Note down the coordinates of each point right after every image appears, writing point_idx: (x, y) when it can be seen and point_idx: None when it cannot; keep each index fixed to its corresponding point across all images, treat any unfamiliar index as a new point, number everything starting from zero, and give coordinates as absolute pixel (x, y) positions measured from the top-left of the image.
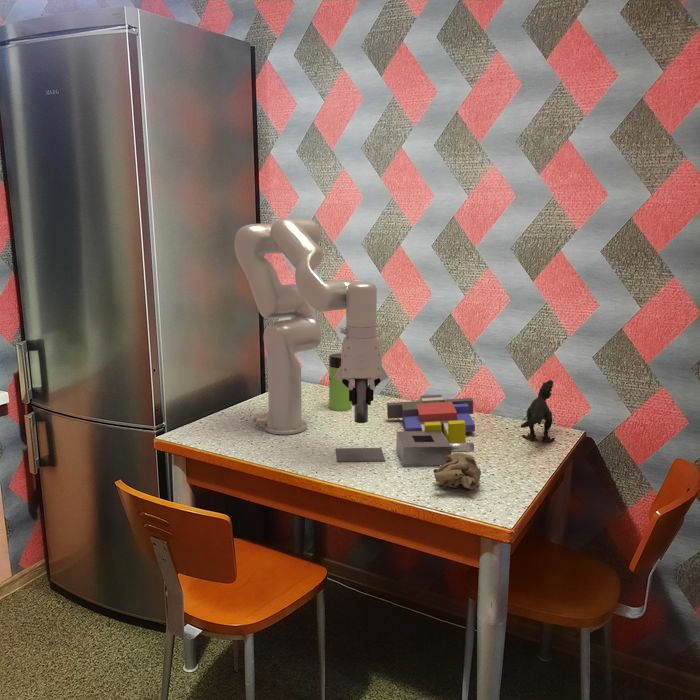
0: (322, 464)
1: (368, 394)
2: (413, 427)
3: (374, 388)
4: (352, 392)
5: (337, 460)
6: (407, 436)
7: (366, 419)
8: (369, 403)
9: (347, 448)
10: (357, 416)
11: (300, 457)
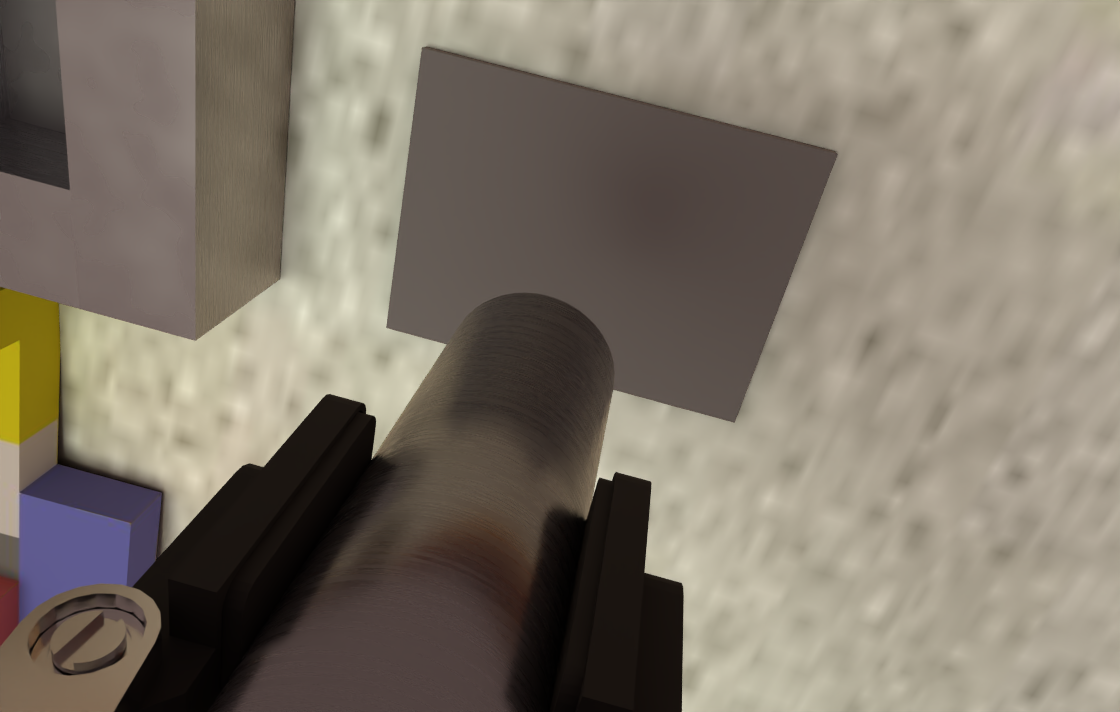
0: (985, 146)
1: (282, 530)
2: (77, 517)
3: (57, 596)
4: (633, 665)
5: (833, 163)
6: (113, 180)
7: (469, 322)
8: (344, 408)
9: (647, 391)
10: (585, 363)
11: (1089, 358)
